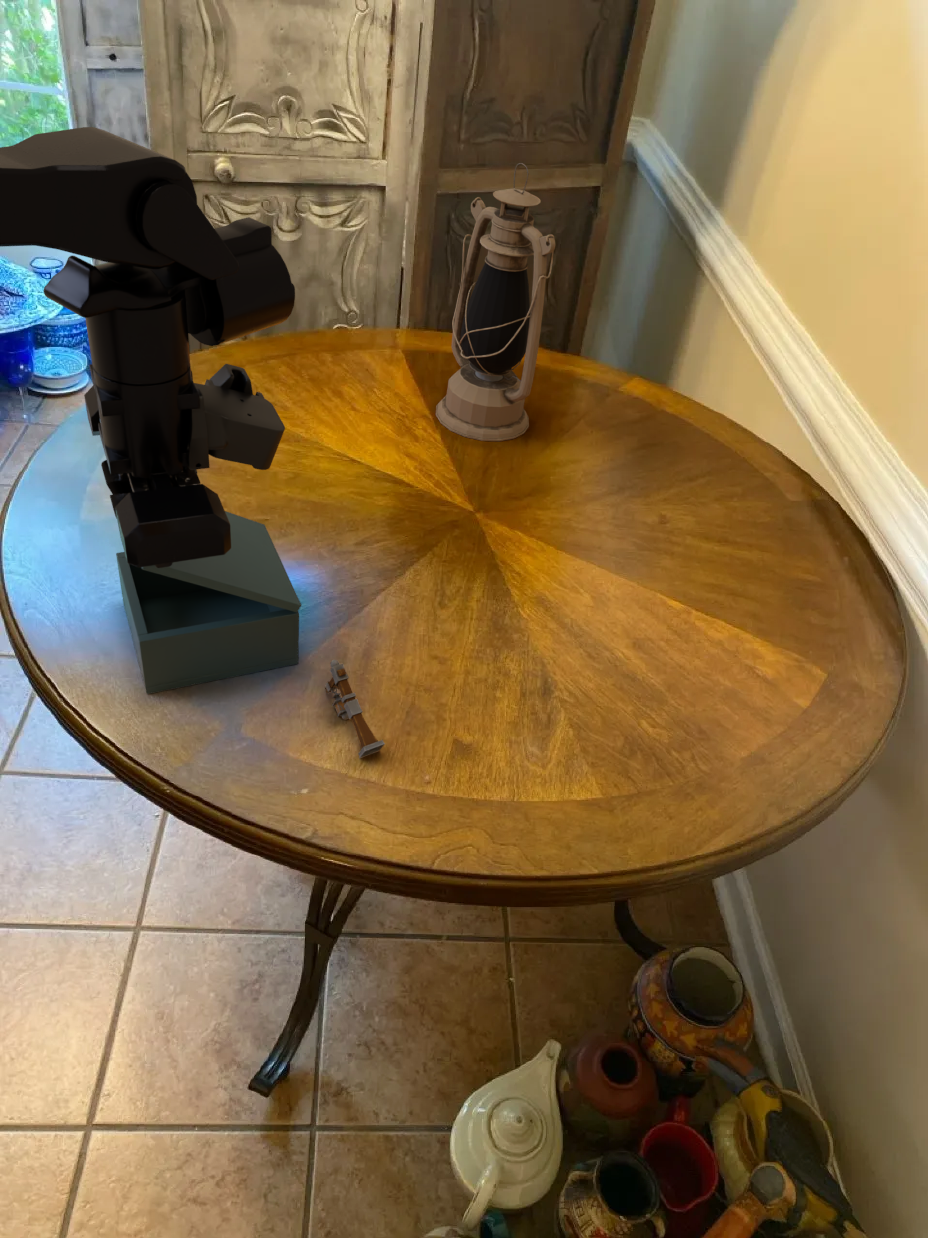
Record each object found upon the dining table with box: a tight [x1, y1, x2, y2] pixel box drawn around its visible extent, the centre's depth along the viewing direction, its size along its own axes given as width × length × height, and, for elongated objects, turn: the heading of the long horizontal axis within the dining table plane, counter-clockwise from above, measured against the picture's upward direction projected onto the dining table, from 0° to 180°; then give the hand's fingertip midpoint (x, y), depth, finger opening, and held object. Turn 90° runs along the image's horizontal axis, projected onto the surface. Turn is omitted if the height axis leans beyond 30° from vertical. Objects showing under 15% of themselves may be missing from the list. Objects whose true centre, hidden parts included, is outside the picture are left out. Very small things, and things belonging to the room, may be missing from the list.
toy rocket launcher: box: [324, 659, 386, 759], centre depth 73 cm, size 2×8×4 cm, turn 32°
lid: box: [142, 510, 302, 612], centre depth 74 cm, size 13×12×1 cm
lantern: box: [435, 162, 556, 442], centre depth 106 cm, size 14×12×30 cm
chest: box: [115, 551, 300, 695], centre depth 78 cm, size 13×12×6 cm
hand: (163, 564), depth 66 cm, fingers closed
